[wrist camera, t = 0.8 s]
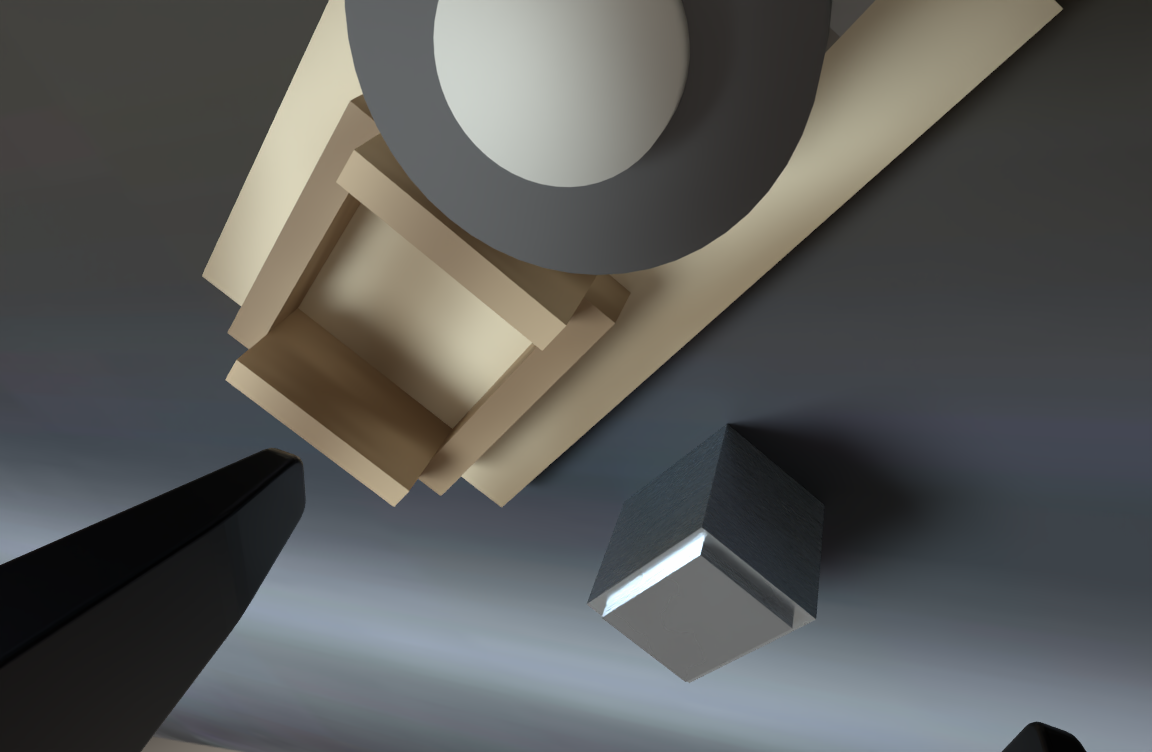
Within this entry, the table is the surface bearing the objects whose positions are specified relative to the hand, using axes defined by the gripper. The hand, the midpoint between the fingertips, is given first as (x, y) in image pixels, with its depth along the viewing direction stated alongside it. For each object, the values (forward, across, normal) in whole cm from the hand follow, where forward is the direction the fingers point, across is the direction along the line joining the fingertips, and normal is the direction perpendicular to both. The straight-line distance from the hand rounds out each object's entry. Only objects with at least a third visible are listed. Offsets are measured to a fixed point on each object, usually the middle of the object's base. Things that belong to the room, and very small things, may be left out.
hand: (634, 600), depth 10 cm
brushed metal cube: (+13, -2, +10) cm, 17 cm away
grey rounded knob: (+9, +3, -5) cm, 11 cm away
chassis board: (+13, +6, +1) cm, 14 cm away
